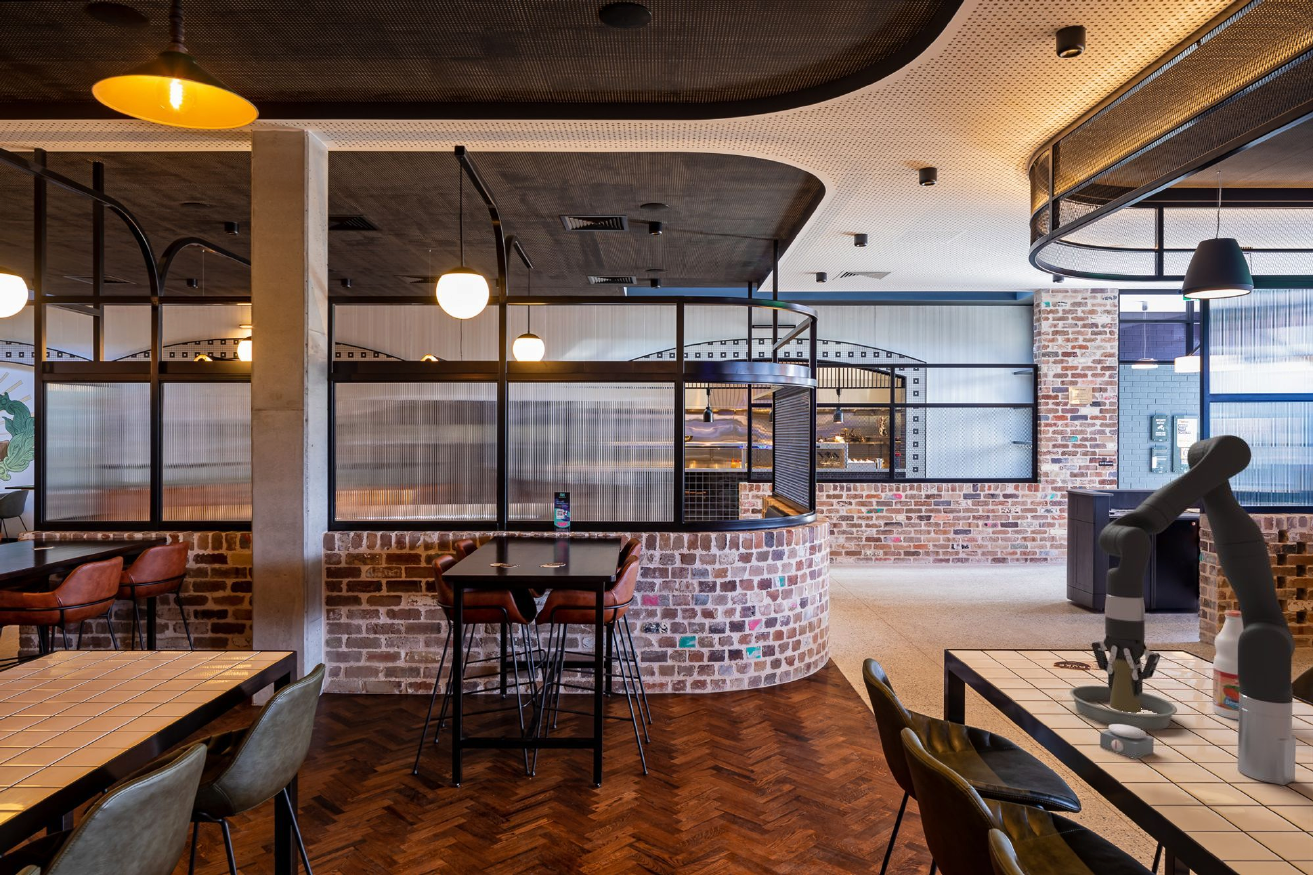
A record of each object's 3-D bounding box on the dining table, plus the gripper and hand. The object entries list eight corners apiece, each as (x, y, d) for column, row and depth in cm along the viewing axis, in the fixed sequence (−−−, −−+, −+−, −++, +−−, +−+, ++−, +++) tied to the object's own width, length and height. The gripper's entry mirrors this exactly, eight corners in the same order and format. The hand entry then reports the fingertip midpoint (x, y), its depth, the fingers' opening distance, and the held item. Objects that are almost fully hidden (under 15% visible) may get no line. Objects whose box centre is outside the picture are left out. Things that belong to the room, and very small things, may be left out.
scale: (1153, 752, 179) (1153, 732, 179) (1134, 759, 175) (1135, 739, 175) (1117, 740, 186) (1118, 721, 186) (1099, 747, 182) (1099, 727, 182)
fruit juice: (1237, 709, 212) (1239, 608, 212) (1265, 721, 202) (1267, 616, 203) (1203, 708, 212) (1206, 607, 212) (1229, 721, 202) (1231, 615, 203)
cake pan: (1176, 713, 208) (1177, 696, 208) (1176, 740, 188) (1177, 722, 188) (1074, 694, 222) (1074, 679, 222) (1064, 718, 202) (1064, 701, 202)
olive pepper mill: (1111, 701, 174) (1111, 653, 174) (1142, 707, 170) (1142, 657, 171) (1107, 708, 169) (1107, 658, 170) (1139, 714, 166) (1139, 663, 166)
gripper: (1167, 619, 167) (1168, 699, 166) (1100, 608, 178) (1100, 682, 178) (1151, 623, 162) (1151, 705, 162) (1083, 611, 174) (1083, 687, 174)
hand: (1125, 693), depth 170 cm, fingers closed on olive pepper mill, 4 cm apart
